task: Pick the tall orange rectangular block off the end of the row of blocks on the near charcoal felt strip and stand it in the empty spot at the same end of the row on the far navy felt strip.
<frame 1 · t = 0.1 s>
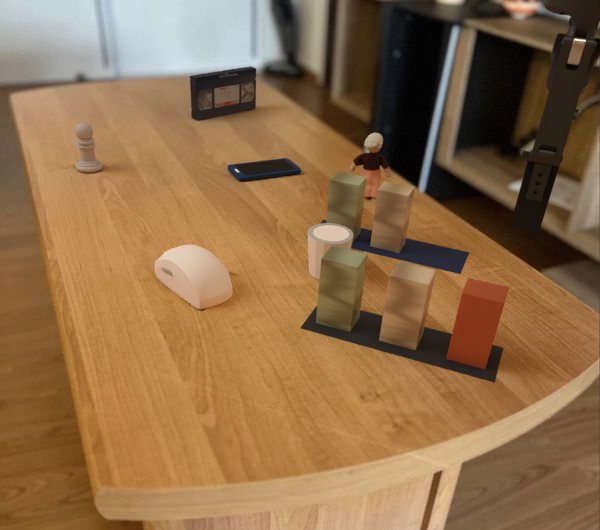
hand: (531, 202, 65), 23 cm above the table, tool pointing down, fingers open, 13 cm apart
cell phone: (264, 171, 130), on the table
vhs cassette tape: (224, 114, 159), on the table
chess piece: (90, 169, 126), on the table
pale pink cylinder: (327, 274, 98), on the table
grandmother figurine: (366, 200, 121), on the table
orange rectangular block: (468, 355, 82), resting on word mat near
near blocks: (401, 337, 84), resting on word mat near
far blocks: (387, 244, 106), resting on word mat far
word mat near: (400, 340, 85), on the table
computer mouse: (194, 289, 93), on the table
word mat far: (387, 247, 106), on the table
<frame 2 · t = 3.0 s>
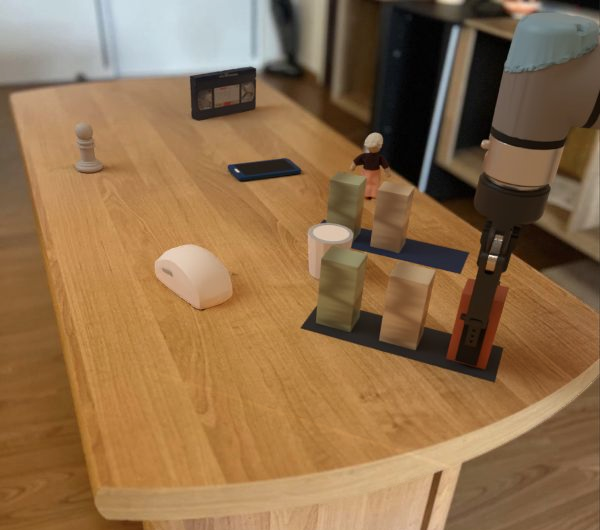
hand: (469, 351, 82), 1 cm above the table, tool pointing down, fingers closed on orange rectangular block, 4 cm apart
orange rectangular block: (468, 355, 82), resting on word mat near, touching gripper
everything else where it was.
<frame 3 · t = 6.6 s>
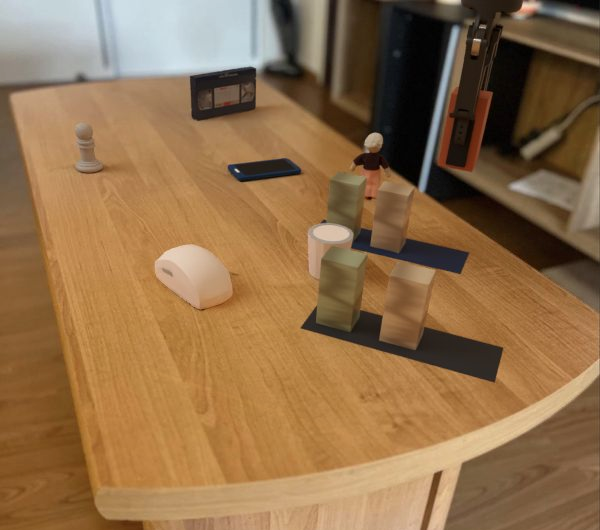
hand: (458, 159, 91), 17 cm above the table, tool pointing down, fingers closed on orange rectangular block, 4 cm apart
orange rectangular block: (457, 164, 92), point 17 cm above the table, touching gripper
everything else where it was.
when the fingers open (1 cm above the table, at t = 10.5 s): orange rectangular block stays where it is, resting on word mat far.
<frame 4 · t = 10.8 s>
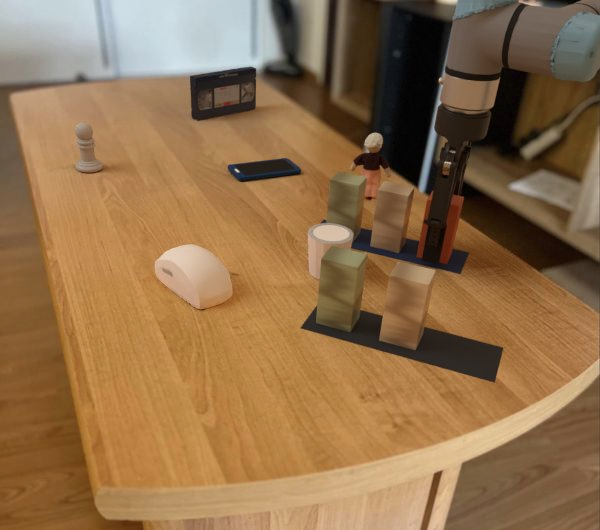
hand: (435, 251, 103), 1 cm above the table, tool pointing down, fingers open, 7 cm apart
orange rectangular block: (434, 255, 103), resting on word mat far
everything else where it was.
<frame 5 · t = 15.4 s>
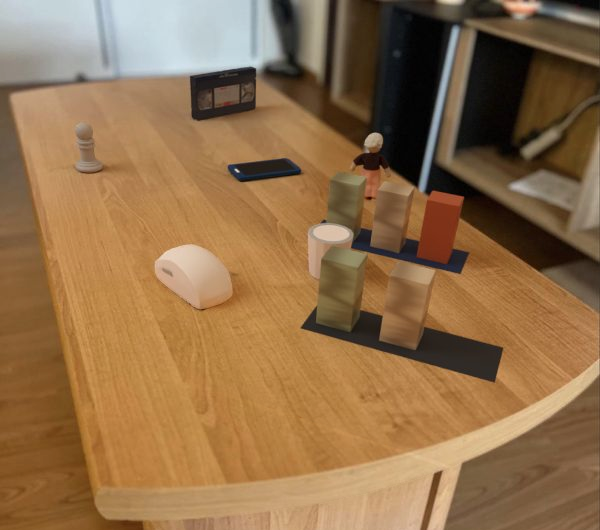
nothing on the table moved.
at the end: orange rectangular block 0.1 cm from the target spot on the word mat far, point 0.4 cm above the word mat far's base; orange rectangular block tilted 0°; the gripper is holding nothing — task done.
